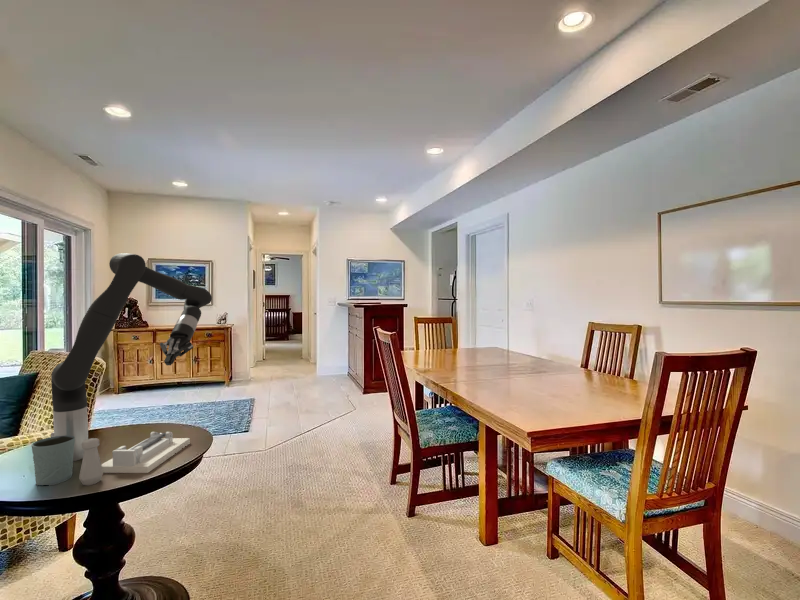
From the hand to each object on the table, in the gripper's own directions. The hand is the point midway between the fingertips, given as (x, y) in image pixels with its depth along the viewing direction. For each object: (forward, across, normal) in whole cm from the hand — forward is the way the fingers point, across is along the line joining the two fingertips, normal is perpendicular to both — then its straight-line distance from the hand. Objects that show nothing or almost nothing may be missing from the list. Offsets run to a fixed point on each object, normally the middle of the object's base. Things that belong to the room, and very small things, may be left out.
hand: (167, 364), depth 156 cm
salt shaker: (+44, -5, -1) cm, 44 cm away
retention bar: (+28, 0, +8) cm, 29 cm away
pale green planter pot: (+42, -18, 0) cm, 46 cm away
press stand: (+30, 0, +12) cm, 32 cm away
